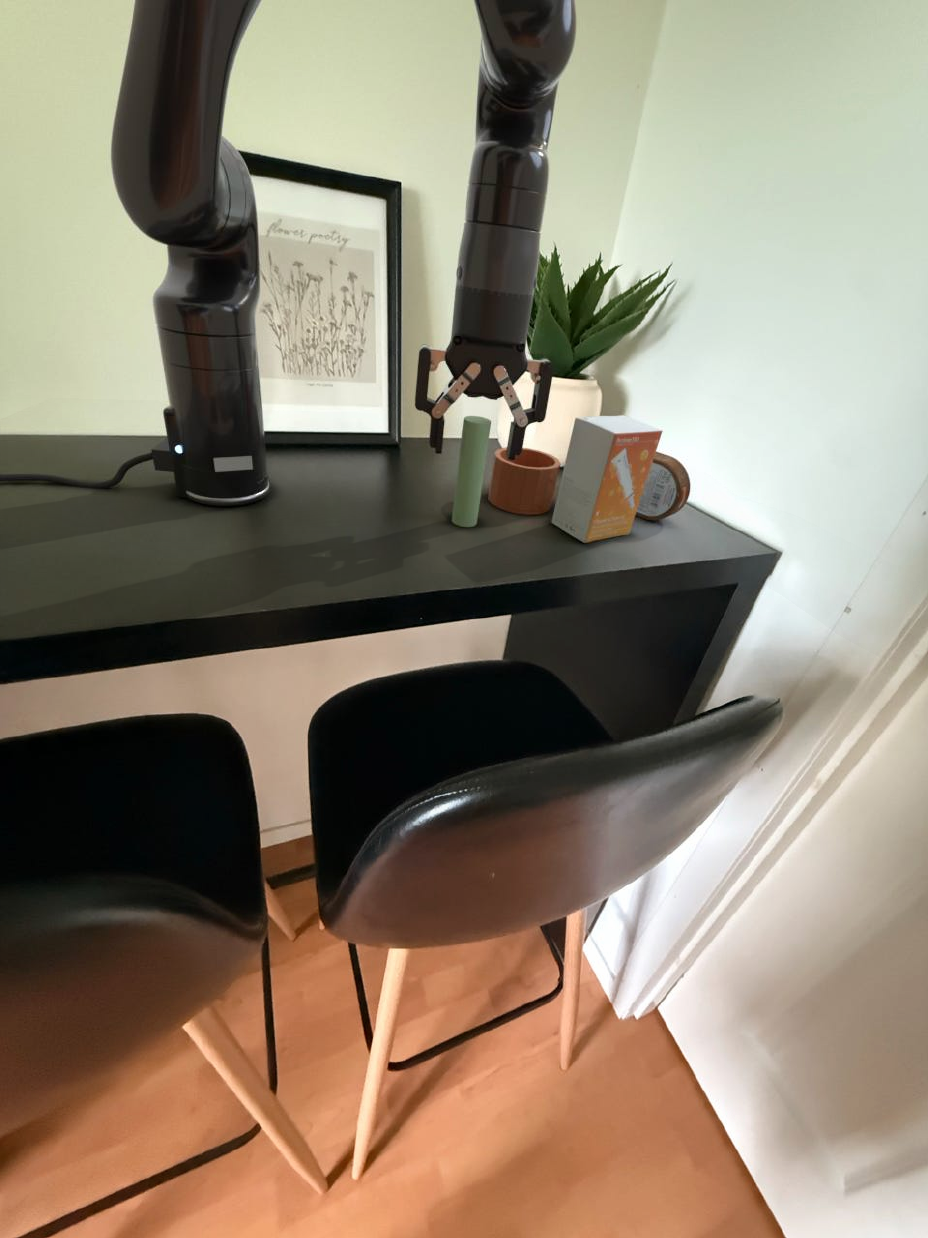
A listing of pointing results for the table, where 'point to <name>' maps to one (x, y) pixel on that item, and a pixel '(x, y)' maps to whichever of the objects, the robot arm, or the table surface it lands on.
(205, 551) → the table surface
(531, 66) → the robot arm
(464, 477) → the candle
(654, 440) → the small box
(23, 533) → the table surface
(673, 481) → the tin
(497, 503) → the holder
